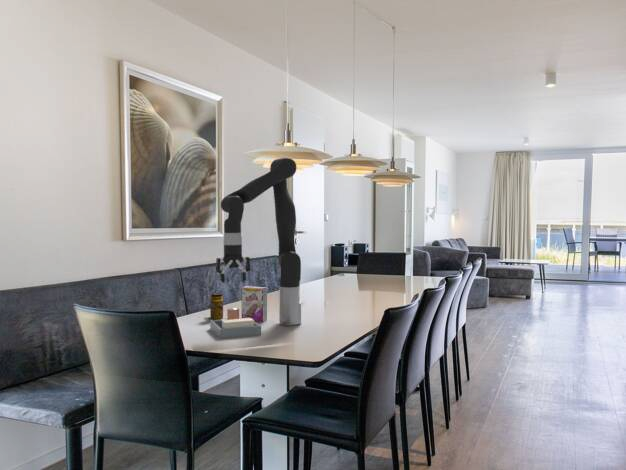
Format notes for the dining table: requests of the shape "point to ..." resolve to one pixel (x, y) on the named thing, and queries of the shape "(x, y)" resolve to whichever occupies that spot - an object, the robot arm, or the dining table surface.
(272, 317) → the dining table surface
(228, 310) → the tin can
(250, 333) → the tote
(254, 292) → the candy bar box
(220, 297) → the condiment
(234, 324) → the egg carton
